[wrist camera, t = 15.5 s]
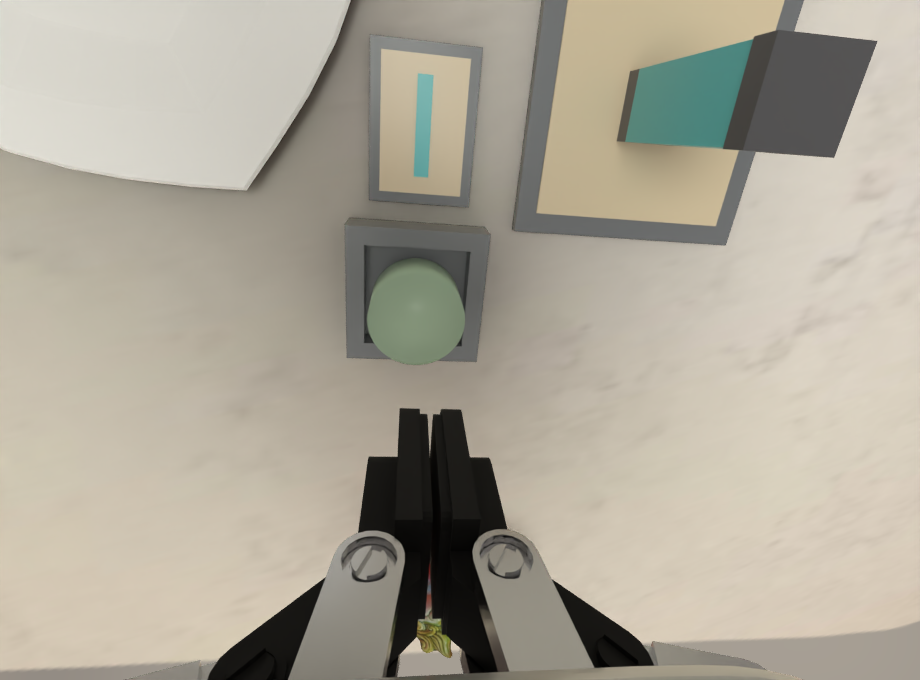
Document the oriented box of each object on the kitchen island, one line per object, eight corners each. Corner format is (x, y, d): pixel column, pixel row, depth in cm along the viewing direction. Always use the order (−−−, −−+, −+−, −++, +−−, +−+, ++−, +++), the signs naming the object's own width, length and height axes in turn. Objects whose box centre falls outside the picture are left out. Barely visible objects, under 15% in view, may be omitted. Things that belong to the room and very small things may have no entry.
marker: (629, 69, 22) (778, 29, 13) (691, 76, 22) (877, 41, 13) (615, 142, 23) (742, 150, 14) (674, 147, 23) (833, 157, 14)
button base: (349, 217, 24) (344, 225, 22) (484, 226, 25) (490, 234, 23) (351, 342, 27) (346, 357, 25) (471, 346, 27) (476, 361, 26)
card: (370, 36, 21) (369, 33, 20) (481, 49, 21) (483, 46, 21) (369, 199, 23) (368, 200, 23) (467, 206, 24) (469, 208, 23)
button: (372, 255, 22) (367, 271, 20) (462, 260, 23) (469, 277, 20) (371, 339, 24) (366, 363, 22) (455, 341, 25) (460, 366, 22)
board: (574, -253, 17) (585, -278, 16) (855, -195, 19) (883, -215, 18) (512, 228, 25) (516, 233, 24) (719, 242, 26) (732, 247, 25)
